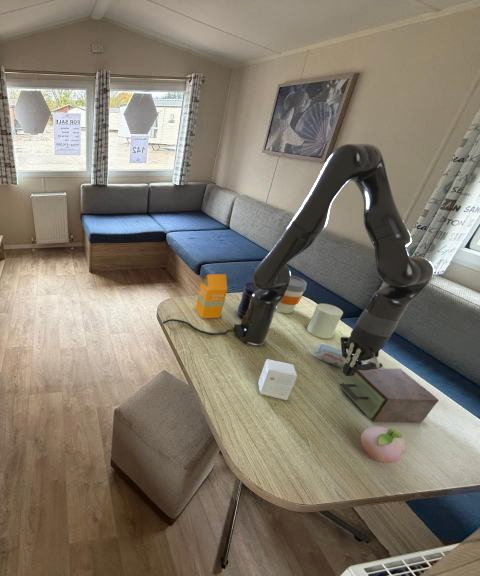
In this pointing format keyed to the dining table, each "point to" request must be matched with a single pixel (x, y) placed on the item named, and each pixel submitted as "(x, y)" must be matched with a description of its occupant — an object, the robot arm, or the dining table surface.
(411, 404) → the cabinet
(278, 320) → the dining table surface
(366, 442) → the decorative fruit
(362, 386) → the drawer
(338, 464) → the dining table surface
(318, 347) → the packaged food
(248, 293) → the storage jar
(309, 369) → the dining table surface
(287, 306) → the reusable coffee cup
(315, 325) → the can
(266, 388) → the small box
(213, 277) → the orange juice
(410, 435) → the dining table surface
